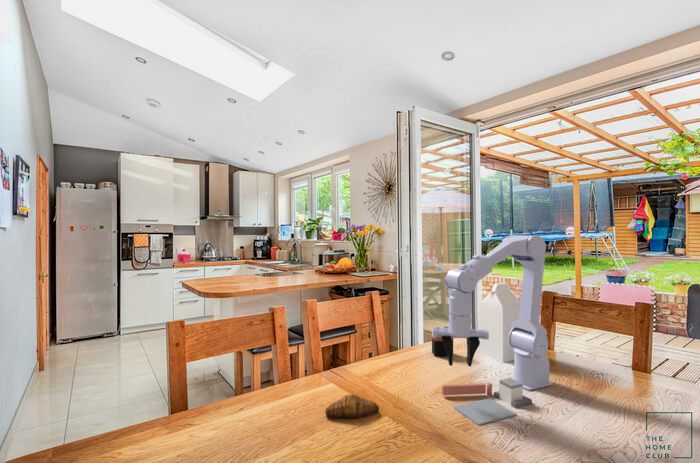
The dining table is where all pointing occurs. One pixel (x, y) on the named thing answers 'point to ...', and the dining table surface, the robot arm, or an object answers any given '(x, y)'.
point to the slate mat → (484, 411)
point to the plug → (510, 390)
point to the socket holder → (517, 403)
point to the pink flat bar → (467, 389)
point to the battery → (439, 346)
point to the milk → (498, 322)
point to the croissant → (351, 407)
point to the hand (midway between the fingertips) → (459, 364)
